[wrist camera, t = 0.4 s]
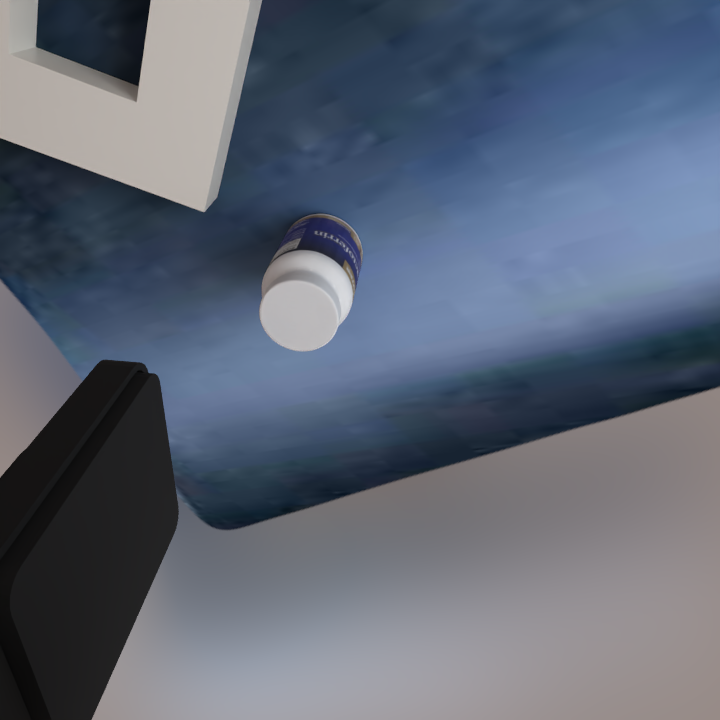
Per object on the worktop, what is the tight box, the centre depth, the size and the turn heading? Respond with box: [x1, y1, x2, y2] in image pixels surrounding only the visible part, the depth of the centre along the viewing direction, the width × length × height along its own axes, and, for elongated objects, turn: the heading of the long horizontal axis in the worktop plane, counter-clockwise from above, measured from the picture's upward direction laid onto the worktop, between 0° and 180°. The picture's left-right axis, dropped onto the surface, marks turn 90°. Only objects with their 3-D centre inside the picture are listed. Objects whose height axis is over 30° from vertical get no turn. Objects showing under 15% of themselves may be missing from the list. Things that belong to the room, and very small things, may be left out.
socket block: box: [0, 0, 262, 212], centre depth 36 cm, size 18×18×3 cm
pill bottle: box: [259, 214, 363, 351], centre depth 41 cm, size 6×6×10 cm
